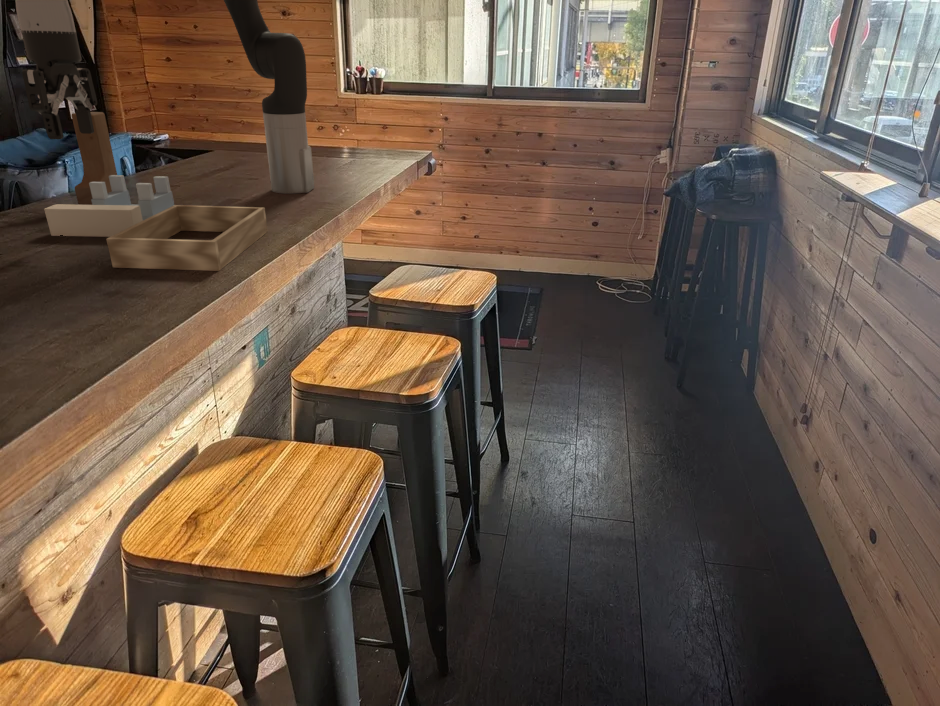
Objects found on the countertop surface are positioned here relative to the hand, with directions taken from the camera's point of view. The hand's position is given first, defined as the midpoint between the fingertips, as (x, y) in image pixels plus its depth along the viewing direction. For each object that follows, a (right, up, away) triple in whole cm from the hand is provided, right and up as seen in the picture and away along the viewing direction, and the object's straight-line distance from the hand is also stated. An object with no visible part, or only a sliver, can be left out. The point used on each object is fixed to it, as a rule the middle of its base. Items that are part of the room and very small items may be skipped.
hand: (72, 136), depth 110 cm
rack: (+1, -9, +19) cm, 21 cm away
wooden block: (-10, -5, +27) cm, 30 cm away
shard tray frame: (+21, -19, 0) cm, 28 cm away
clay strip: (+1, -15, +7) cm, 17 cm away
